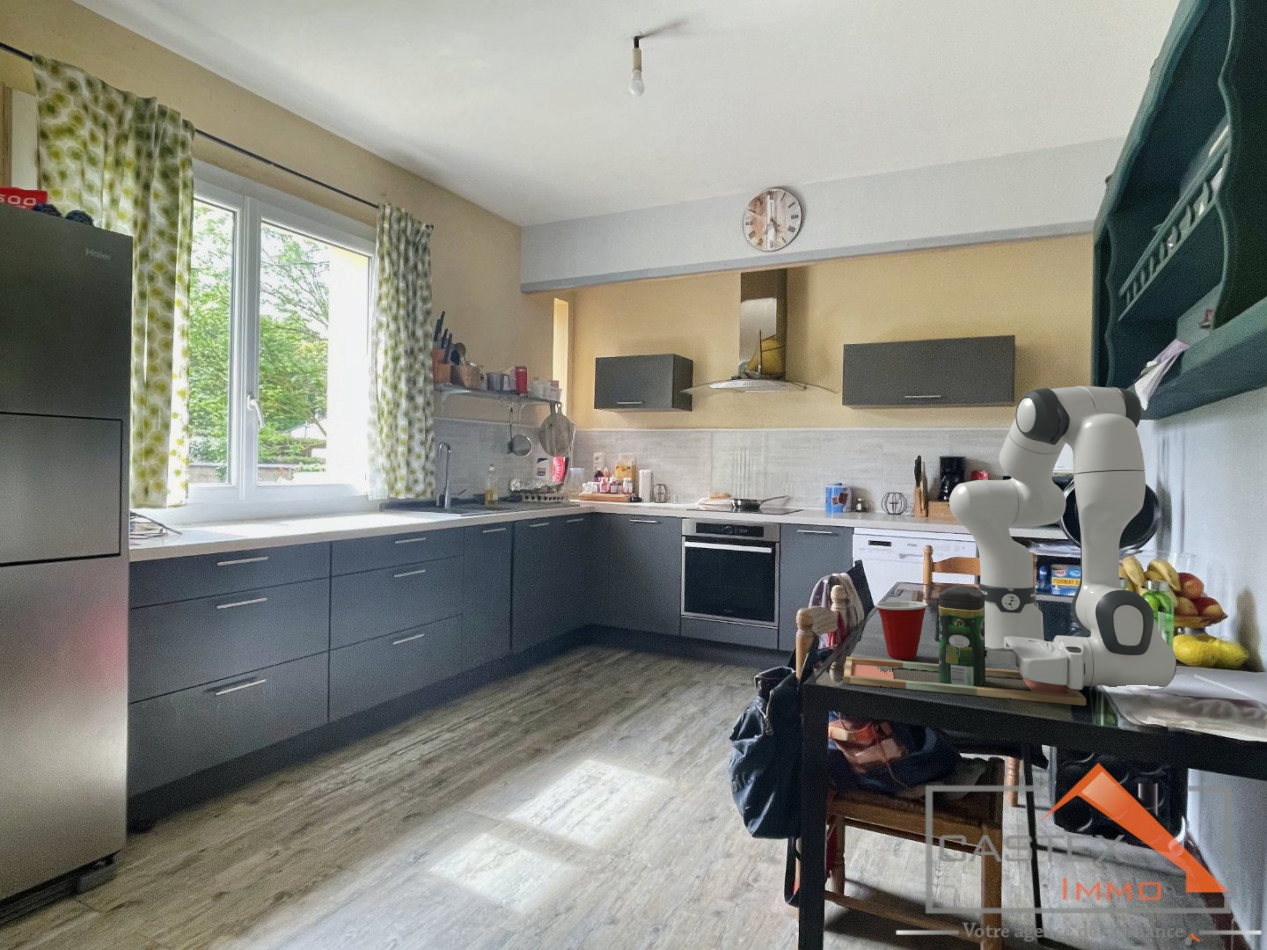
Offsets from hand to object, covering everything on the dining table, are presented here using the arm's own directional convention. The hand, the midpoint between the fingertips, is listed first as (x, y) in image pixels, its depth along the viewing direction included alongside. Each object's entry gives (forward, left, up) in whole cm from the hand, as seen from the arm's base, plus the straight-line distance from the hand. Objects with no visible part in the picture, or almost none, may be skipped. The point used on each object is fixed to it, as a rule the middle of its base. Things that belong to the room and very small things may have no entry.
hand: (985, 653), depth 135 cm
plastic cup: (-17, -14, -6) cm, 23 cm away
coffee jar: (0, -4, -6) cm, 7 cm away
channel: (0, -6, -6) cm, 8 cm away
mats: (0, -6, -6) cm, 8 cm away
